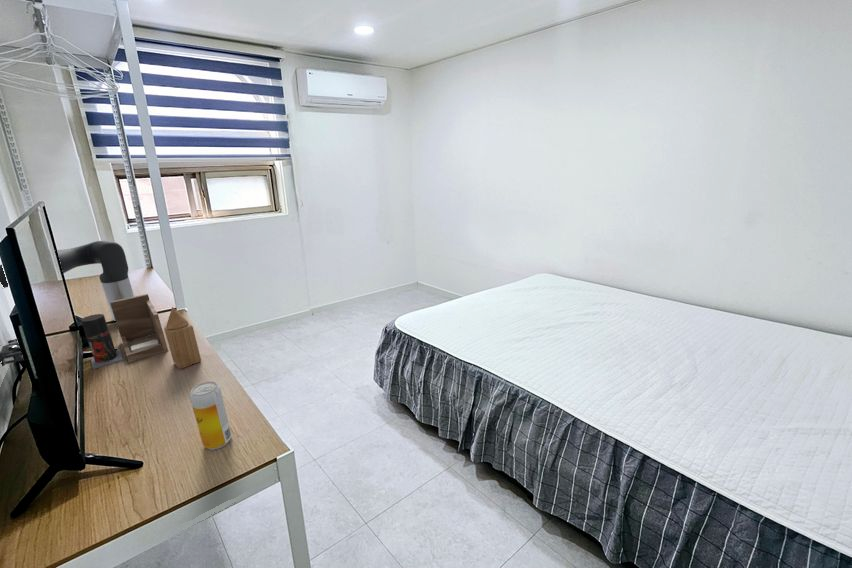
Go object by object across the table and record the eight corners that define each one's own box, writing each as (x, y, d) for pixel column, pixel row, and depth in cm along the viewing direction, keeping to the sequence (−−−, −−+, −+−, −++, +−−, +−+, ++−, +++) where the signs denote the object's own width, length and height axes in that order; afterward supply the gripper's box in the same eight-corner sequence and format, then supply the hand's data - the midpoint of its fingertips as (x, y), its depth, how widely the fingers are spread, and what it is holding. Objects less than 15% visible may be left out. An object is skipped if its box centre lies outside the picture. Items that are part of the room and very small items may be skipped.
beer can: (210, 434, 96) (196, 381, 91) (236, 432, 96) (223, 379, 91) (198, 452, 90) (183, 397, 85) (226, 450, 90) (212, 394, 85)
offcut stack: (132, 354, 136) (130, 346, 135) (159, 346, 141) (157, 338, 140) (133, 358, 133) (131, 350, 132) (161, 350, 138) (159, 342, 137)
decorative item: (173, 363, 129) (157, 307, 123) (195, 355, 134) (181, 300, 127) (179, 370, 125) (163, 312, 118) (202, 361, 129) (188, 305, 123)
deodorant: (121, 354, 135) (108, 314, 130) (106, 363, 129) (92, 321, 125) (105, 353, 136) (92, 313, 131) (90, 362, 130) (75, 321, 125)
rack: (122, 341, 145) (109, 301, 140) (158, 332, 152) (147, 293, 147) (128, 362, 131) (114, 318, 125) (168, 350, 138) (156, 308, 132)
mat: (91, 359, 134) (91, 357, 133) (120, 351, 139) (119, 349, 138) (92, 369, 127) (92, 367, 127) (123, 360, 132) (122, 358, 132)
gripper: (-32, 356, 106) (48, 337, 116) (-23, 339, 117) (50, 323, 126) (-21, 380, 109) (57, 359, 119) (-13, 361, 119) (58, 343, 129)
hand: (53, 340), depth 123 cm, fingers open, 8 cm apart
